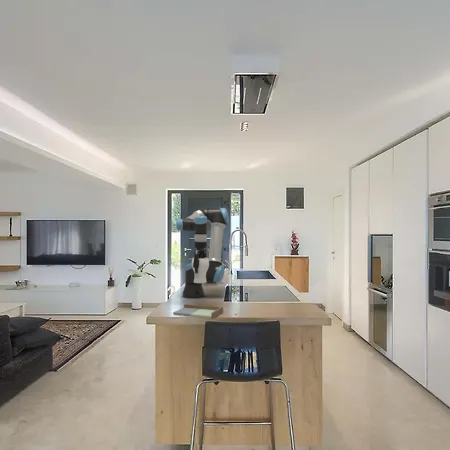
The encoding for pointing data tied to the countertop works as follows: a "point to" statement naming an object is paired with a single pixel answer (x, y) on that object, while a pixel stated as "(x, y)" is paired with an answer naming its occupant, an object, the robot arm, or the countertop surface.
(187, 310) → the rail board
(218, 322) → the countertop surface
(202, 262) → the cup
